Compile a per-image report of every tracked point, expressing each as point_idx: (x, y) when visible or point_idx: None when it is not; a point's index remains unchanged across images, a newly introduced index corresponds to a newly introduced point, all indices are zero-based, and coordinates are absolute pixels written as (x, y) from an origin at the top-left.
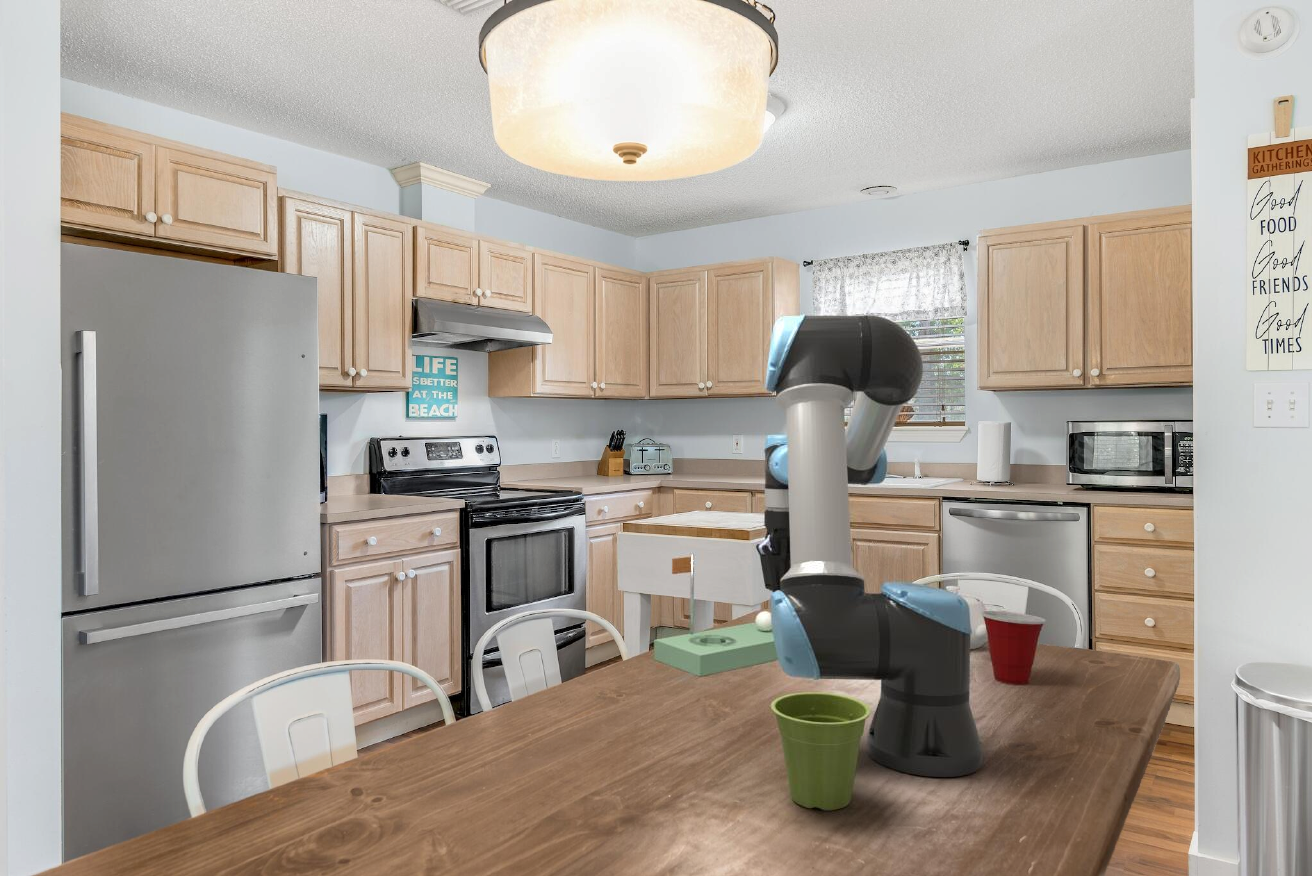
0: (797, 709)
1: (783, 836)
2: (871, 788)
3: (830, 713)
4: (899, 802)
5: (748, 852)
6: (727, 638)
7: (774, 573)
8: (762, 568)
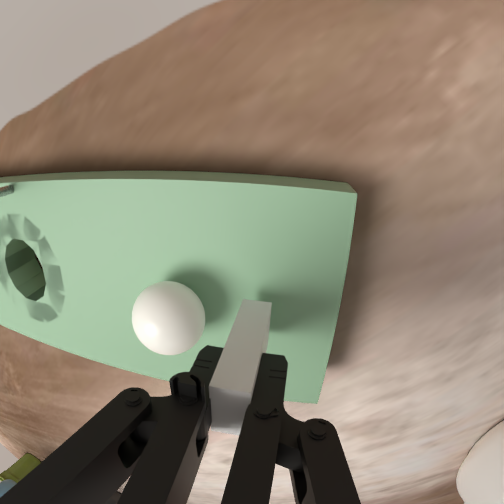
0: (13, 479)
1: (17, 453)
2: None
3: None
4: None
5: (5, 445)
6: (53, 280)
7: (108, 491)
8: (45, 463)
